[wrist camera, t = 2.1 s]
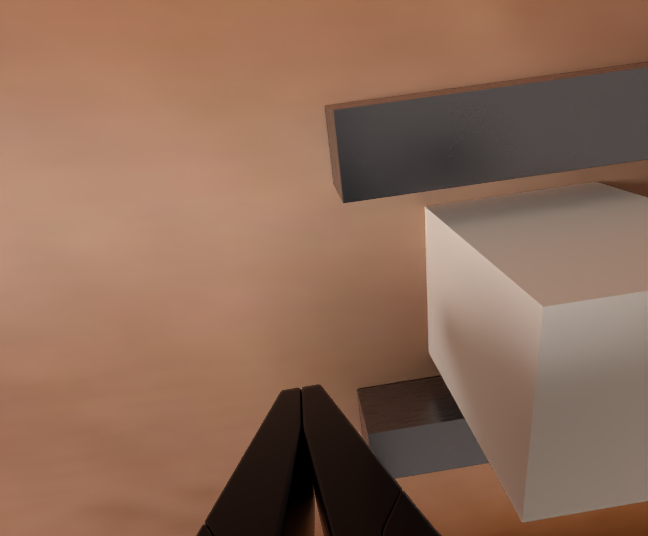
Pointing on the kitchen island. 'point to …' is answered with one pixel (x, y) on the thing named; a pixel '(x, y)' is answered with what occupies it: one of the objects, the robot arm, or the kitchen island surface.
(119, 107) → the kitchen island surface
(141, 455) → the kitchen island surface
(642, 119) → the track
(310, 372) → the kitchen island surface
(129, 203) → the kitchen island surface
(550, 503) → the block
